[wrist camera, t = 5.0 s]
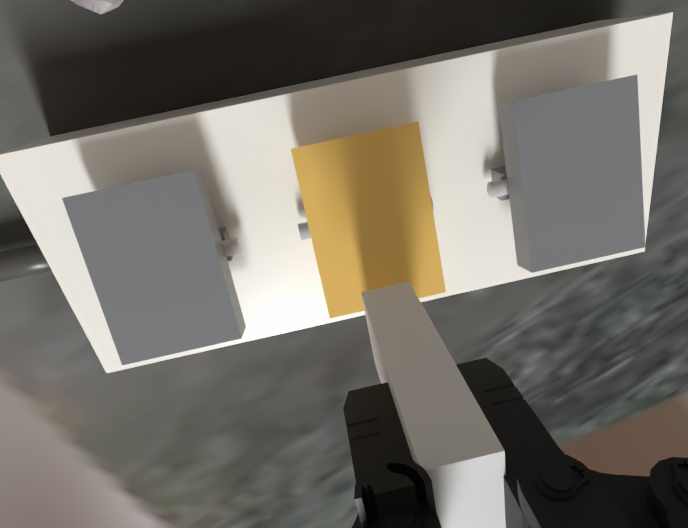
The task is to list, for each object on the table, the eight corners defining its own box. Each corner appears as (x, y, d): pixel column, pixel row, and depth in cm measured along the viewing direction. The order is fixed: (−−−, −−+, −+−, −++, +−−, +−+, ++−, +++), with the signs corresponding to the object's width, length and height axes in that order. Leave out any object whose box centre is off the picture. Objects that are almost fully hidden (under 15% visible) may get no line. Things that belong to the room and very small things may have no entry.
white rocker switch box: (-75, 162, 18) (-200, 199, 13) (598, 20, 19) (700, 9, 14) (34, 343, 22) (-33, 420, 17) (587, 220, 23) (664, 262, 18)
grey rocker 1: (79, 194, 14) (61, 198, 13) (201, 169, 15) (193, 169, 14) (134, 351, 16) (122, 365, 15) (246, 326, 16) (241, 338, 15)
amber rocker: (291, 149, 15) (290, 148, 14) (410, 124, 15) (418, 121, 14) (328, 307, 16) (329, 318, 15) (436, 283, 16) (445, 292, 15)
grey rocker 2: (498, 105, 15) (513, 101, 14) (613, 80, 15) (637, 74, 14) (517, 265, 16) (532, 272, 15) (623, 241, 16) (645, 247, 15)
